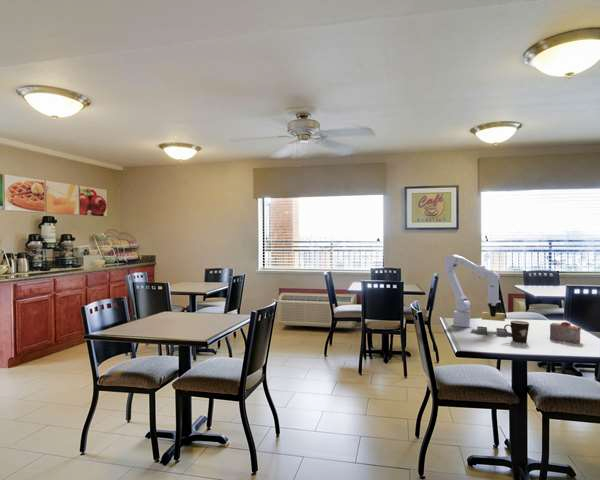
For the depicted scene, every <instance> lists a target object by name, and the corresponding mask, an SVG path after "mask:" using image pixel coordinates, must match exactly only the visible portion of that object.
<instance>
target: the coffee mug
mask: <svg viewBox="0 0 600 480" xmlns="http://www.w3.org/2000/svg"><path fill="white" fill-rule="evenodd" d="M508 326H509V327H510V329H511V330H510V331H511V332H512V334H510V333H509V332H510V331H508V330H507V331H506V329H507V328H506V327H508ZM529 327H530V323H529V322H528V321H525V320H510V324H508V323H507V324H505V325H504V327H503V329H504V330H505V331H506V332H507V333H508V334H510V335H511V336H510V337H511V340H512V342H515V343H518V344H525V343H527V341H528V340H527V339H528V333H529Z"/></svg>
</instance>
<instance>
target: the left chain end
mask: <svg viewBox="0 0 600 480" xmlns="http://www.w3.org/2000/svg"><path fill="white" fill-rule="evenodd" d="M471 334H477V335H484V336H487V335H488V327H487V326H476V329H475V328H471Z"/></svg>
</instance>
